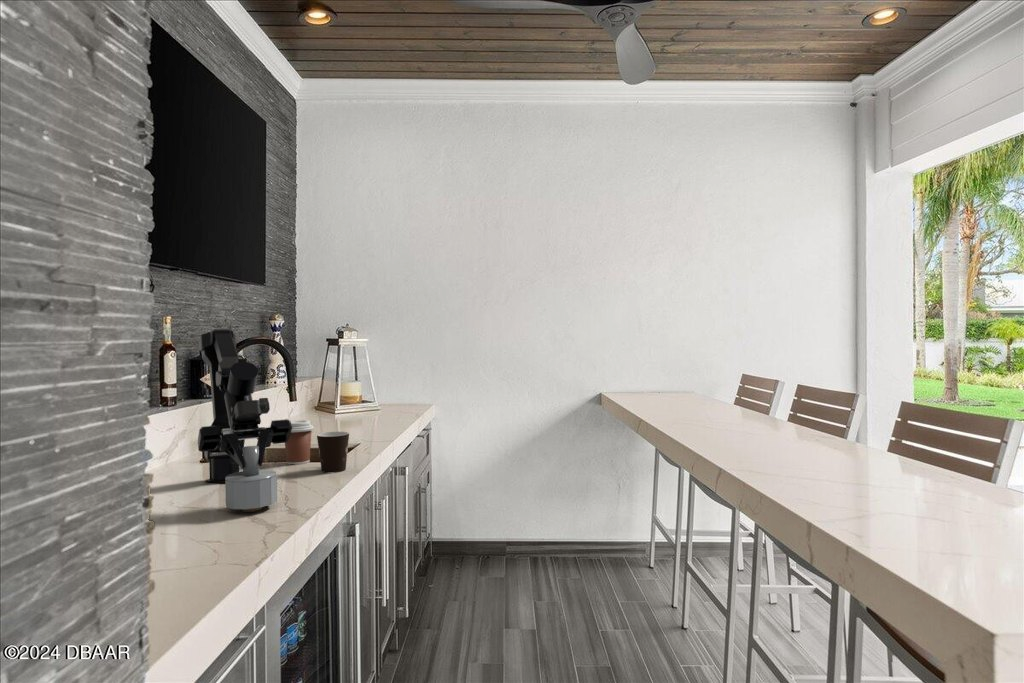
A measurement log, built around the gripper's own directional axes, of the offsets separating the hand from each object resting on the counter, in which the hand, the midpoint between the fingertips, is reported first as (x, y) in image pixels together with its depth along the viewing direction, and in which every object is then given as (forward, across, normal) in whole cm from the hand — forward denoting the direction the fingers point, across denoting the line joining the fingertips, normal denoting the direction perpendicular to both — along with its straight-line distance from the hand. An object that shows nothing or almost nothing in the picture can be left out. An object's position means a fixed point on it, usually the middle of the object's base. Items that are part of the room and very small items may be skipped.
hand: (252, 466), depth 133 cm
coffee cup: (-26, +22, +40) cm, 52 cm away
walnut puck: (+6, 0, +8) cm, 10 cm away
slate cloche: (+5, 0, +7) cm, 8 cm away
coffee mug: (-14, +28, +28) cm, 42 cm away
